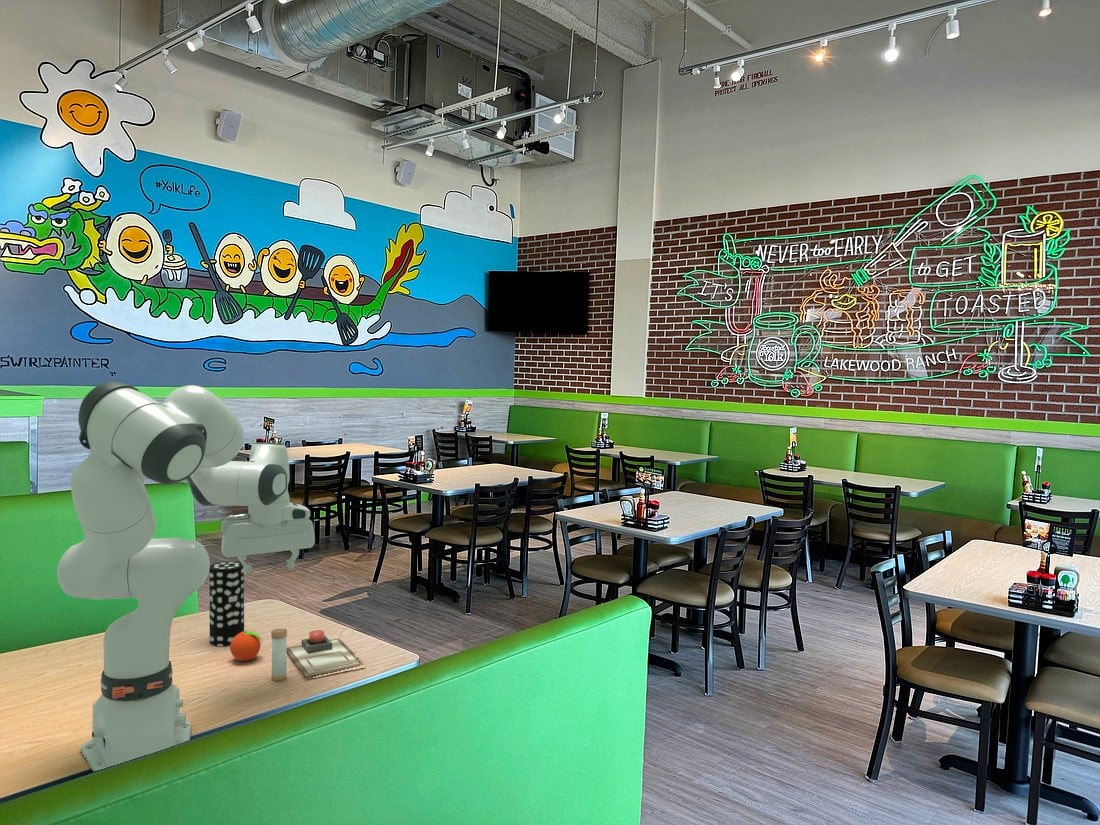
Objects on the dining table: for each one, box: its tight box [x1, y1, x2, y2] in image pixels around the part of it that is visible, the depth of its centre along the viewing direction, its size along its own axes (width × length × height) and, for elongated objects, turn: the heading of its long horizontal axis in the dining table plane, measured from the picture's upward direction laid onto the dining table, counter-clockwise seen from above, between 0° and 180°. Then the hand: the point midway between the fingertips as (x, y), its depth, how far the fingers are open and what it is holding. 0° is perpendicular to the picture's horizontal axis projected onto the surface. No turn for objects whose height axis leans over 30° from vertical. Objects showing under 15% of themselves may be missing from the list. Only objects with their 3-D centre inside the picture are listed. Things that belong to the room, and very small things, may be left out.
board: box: [286, 635, 364, 680], centre depth 188 cm, size 20×14×3 cm
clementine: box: [229, 630, 264, 662], centre depth 187 cm, size 8×7×7 cm
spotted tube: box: [208, 560, 245, 647], centre depth 199 cm, size 8×8×20 cm
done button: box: [308, 629, 325, 642], centre depth 193 cm, size 4×4×2 cm
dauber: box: [270, 628, 288, 682], centre depth 177 cm, size 3×3×11 cm
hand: (269, 570), depth 176 cm, fingers open, 8 cm apart
